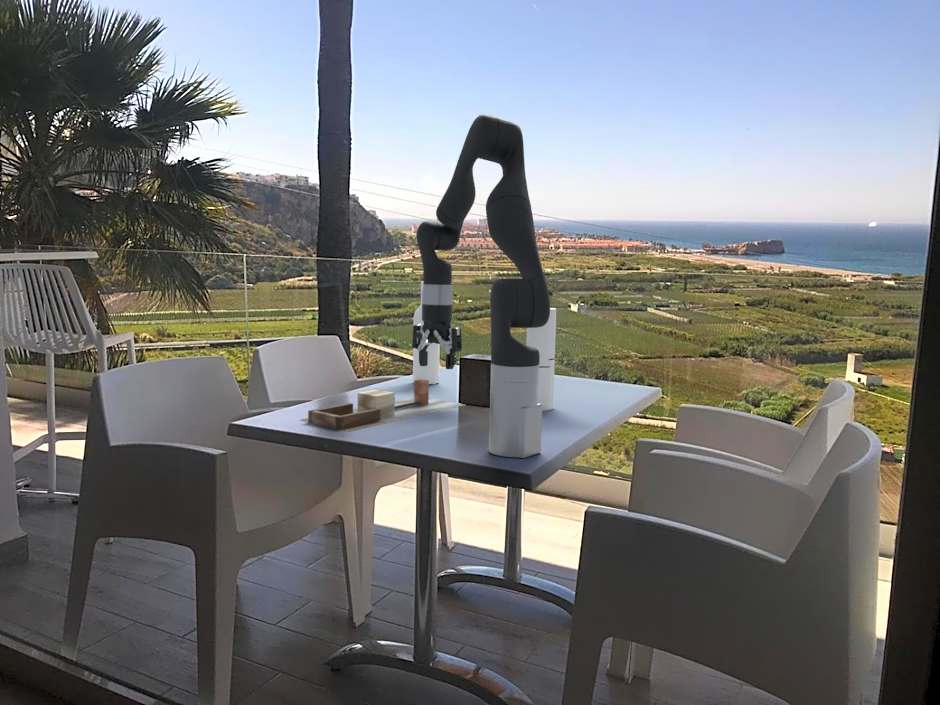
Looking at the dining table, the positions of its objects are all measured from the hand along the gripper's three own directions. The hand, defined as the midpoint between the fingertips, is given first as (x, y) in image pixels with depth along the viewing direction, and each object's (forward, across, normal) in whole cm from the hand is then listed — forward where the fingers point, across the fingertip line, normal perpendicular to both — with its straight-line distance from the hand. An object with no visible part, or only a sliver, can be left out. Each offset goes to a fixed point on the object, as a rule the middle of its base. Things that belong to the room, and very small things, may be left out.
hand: (436, 367), depth 187 cm
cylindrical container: (+10, -21, -15) cm, 28 cm away
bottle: (+9, +24, -24) cm, 35 cm away
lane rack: (+10, 0, +17) cm, 20 cm away
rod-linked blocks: (+9, 0, +14) cm, 16 cm away
